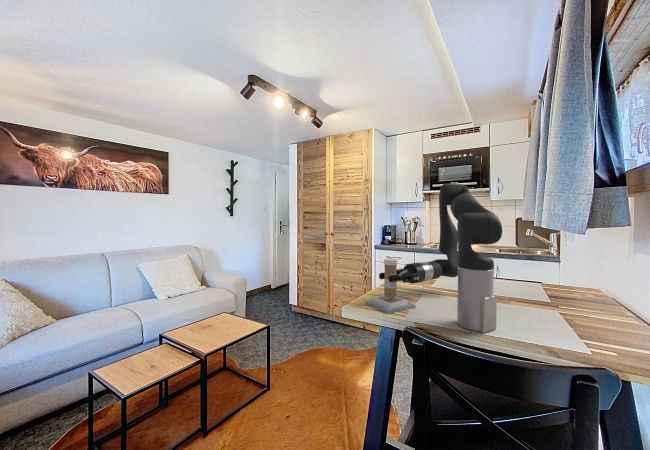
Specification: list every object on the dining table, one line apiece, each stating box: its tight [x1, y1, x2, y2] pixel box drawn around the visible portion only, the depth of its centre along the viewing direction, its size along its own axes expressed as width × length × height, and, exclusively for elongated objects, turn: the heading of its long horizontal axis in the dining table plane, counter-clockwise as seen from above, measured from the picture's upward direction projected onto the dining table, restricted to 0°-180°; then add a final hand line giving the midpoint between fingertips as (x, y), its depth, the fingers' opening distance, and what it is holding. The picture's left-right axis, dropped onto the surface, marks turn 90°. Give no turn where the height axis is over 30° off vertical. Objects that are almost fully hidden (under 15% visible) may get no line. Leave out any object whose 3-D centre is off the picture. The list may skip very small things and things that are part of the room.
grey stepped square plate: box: [365, 295, 417, 315], centre depth 99 cm, size 12×13×2 cm
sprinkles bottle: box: [383, 257, 398, 297], centre depth 99 cm, size 5×5×14 cm
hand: (384, 277), depth 98 cm, fingers closed on sprinkles bottle, 4 cm apart
